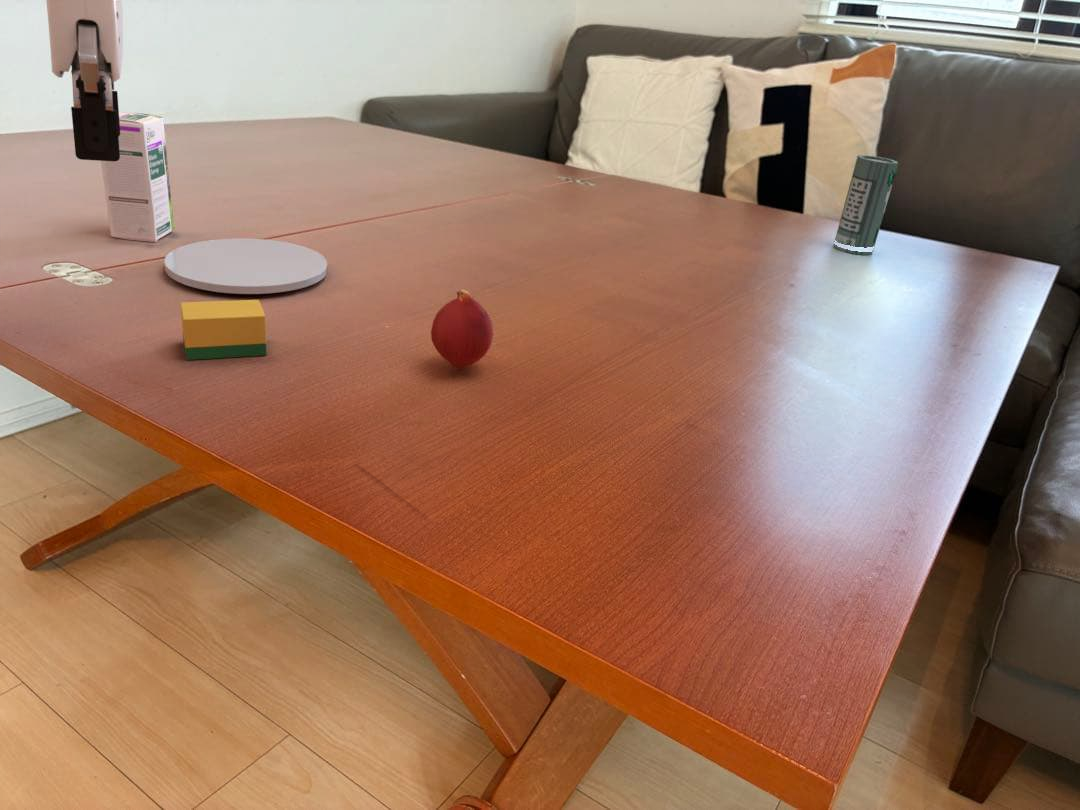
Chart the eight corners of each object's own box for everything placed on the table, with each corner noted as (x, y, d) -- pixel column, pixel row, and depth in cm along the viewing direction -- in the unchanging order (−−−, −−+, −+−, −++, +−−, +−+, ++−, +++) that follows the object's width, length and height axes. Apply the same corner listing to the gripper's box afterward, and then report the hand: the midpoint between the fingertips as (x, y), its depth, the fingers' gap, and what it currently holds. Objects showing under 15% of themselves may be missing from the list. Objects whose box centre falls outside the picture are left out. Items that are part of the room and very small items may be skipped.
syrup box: (156, 243, 106) (145, 122, 99) (108, 237, 105) (94, 116, 99) (174, 231, 111) (165, 115, 104) (129, 226, 111) (117, 110, 104)
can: (878, 253, 143) (905, 163, 136) (854, 255, 140) (881, 163, 133) (850, 243, 147) (875, 155, 141) (826, 245, 144) (850, 155, 138)
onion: (463, 351, 86) (469, 276, 82) (501, 372, 82) (509, 294, 79) (417, 363, 82) (421, 285, 78) (455, 386, 78) (461, 304, 75)
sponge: (186, 360, 77) (183, 319, 75) (183, 341, 81) (180, 302, 79) (266, 355, 80) (265, 315, 78) (260, 337, 83) (258, 299, 82)
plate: (169, 302, 89) (167, 288, 88) (162, 250, 103) (160, 238, 103) (341, 296, 96) (341, 283, 96) (312, 248, 111) (312, 237, 110)
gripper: (34, -86, 71) (56, 124, 79) (13, -89, 57) (41, 167, 65) (133, -71, 74) (145, 131, 82) (136, -70, 60) (150, 173, 68)
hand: (99, 147), depth 73 cm, fingers open, 9 cm apart
